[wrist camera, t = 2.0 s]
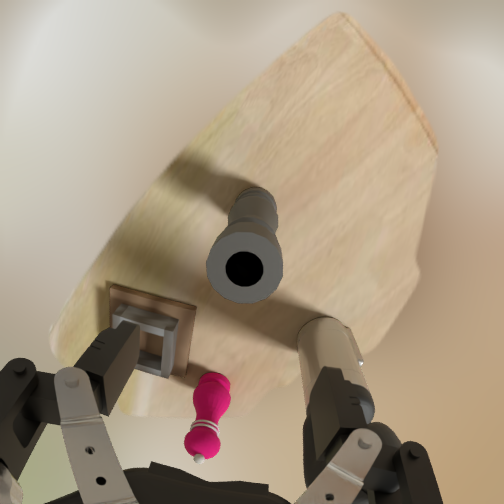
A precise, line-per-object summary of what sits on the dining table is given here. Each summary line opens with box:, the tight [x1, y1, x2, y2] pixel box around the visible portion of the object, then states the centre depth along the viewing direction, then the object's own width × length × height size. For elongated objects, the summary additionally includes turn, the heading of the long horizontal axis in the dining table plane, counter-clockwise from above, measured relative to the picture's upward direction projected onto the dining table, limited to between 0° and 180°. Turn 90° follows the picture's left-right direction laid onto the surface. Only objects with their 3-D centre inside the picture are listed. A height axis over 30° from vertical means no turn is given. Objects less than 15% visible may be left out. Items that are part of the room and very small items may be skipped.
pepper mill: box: [184, 373, 231, 464], centre depth 48 cm, size 7×7×20 cm
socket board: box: [110, 284, 197, 379], centre depth 52 cm, size 16×16×6 cm
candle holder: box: [206, 187, 283, 303], centre depth 34 cm, size 6×6×25 cm
